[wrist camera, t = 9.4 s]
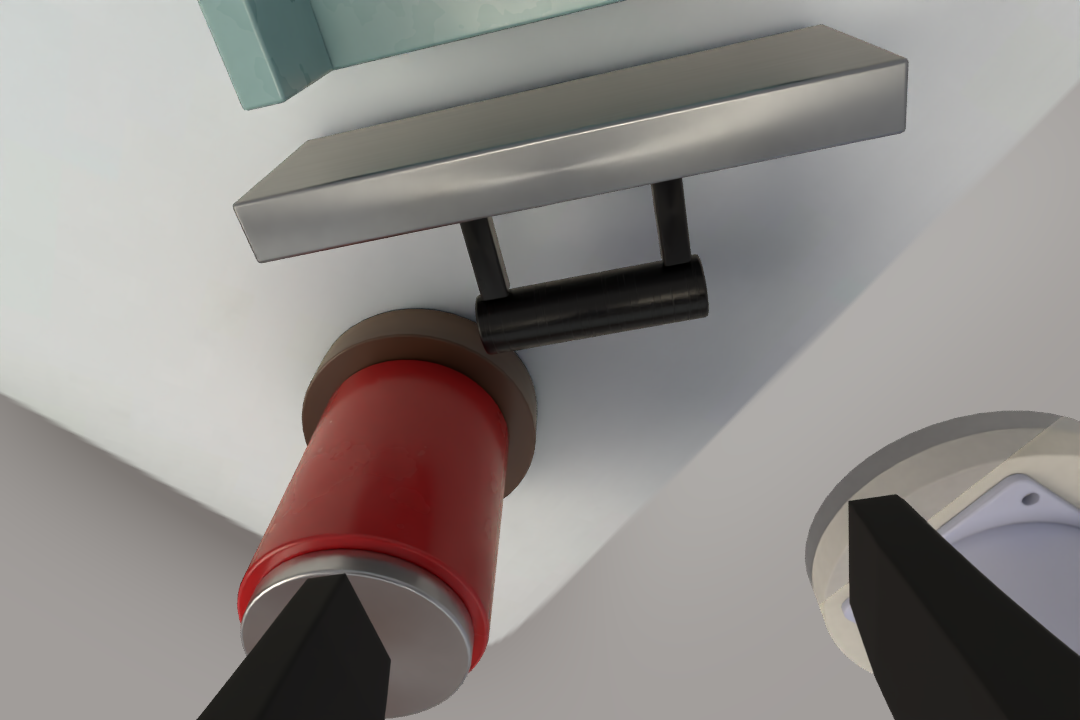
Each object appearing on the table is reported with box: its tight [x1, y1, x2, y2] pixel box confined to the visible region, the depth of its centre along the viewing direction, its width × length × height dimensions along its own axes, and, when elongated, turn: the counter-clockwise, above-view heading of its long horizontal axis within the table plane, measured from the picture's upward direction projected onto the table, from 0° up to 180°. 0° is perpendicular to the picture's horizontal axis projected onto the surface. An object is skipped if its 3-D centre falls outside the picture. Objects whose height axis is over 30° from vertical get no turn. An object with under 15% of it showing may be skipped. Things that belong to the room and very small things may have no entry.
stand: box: [302, 309, 537, 499], centre depth 21 cm, size 7×7×2 cm
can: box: [237, 360, 509, 719], centre depth 17 cm, size 5×5×7 cm
